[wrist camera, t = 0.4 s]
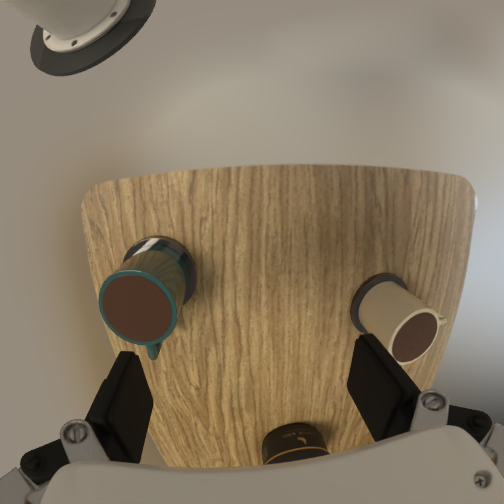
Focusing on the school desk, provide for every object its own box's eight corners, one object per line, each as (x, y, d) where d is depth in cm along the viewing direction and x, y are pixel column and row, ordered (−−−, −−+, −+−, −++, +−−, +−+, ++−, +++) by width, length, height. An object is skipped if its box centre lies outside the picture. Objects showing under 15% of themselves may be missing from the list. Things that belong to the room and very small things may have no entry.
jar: (326, 416, 36) (341, 453, 28) (314, 450, 38) (325, 483, 31) (261, 423, 35) (268, 463, 27) (257, 456, 37) (262, 491, 30)
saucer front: (119, 237, 26) (116, 239, 26) (194, 234, 27) (193, 235, 26) (130, 308, 28) (128, 311, 28) (200, 308, 29) (199, 311, 28)
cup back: (354, 333, 31) (382, 371, 24) (362, 283, 29) (397, 313, 22) (414, 323, 32) (446, 352, 24) (424, 277, 30) (462, 300, 22)
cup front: (123, 245, 26) (90, 270, 19) (186, 243, 26) (171, 268, 19) (137, 327, 28) (115, 369, 21) (194, 328, 29) (186, 373, 22)
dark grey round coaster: (354, 275, 30) (357, 277, 29) (409, 270, 30) (413, 272, 29) (345, 336, 32) (348, 339, 31) (398, 327, 32) (401, 330, 32)
